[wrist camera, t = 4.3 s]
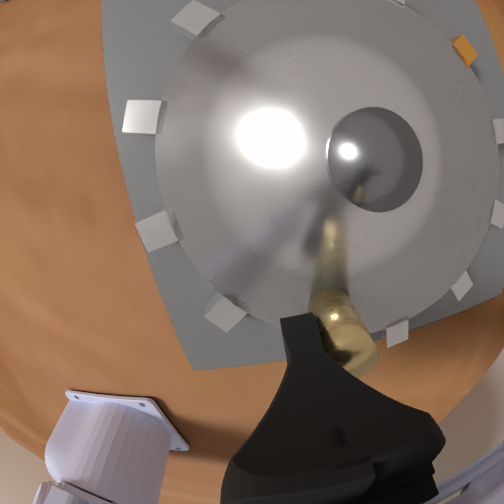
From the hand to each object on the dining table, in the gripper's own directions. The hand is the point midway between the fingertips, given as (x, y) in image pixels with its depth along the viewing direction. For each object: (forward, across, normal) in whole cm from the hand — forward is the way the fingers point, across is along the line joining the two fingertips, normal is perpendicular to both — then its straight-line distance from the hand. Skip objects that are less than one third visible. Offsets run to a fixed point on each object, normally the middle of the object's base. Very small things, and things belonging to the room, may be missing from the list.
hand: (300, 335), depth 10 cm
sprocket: (+2, -4, -6) cm, 7 cm away
